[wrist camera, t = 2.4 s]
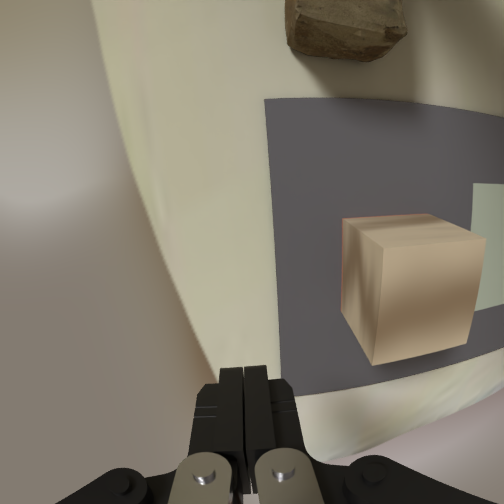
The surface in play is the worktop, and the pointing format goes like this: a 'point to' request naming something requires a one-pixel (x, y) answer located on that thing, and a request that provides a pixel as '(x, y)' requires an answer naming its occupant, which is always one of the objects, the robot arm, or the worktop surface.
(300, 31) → the stone block
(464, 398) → the worktop surface
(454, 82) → the worktop surface
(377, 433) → the worktop surface
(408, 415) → the worktop surface
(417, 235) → the maple cube
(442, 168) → the rubber mat
